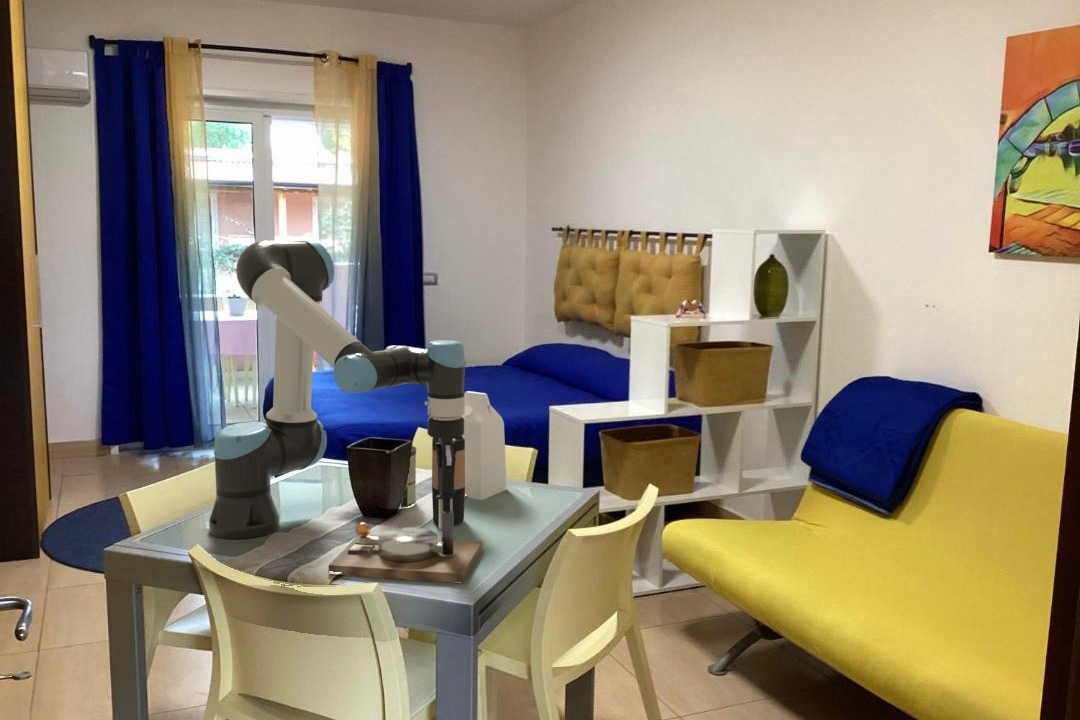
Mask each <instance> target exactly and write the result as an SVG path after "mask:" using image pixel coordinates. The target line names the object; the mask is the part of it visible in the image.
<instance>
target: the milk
mask: <svg viewBox="0 0 1080 720" xmlns="http://www.w3.org/2000/svg"><path fill="white" fill-rule="evenodd" d="M464 395H465V414H464V415H463V416H462V417H463V418H464V434H463V435H462V437H463V439H465V494H466V495H467V496H468V497H467V498H469V497H471V498H470V499H473V498H474V499H475V500H478V499H479V501H482V499H483V500H485V499H488V498H490V497H492V496H495V495H496V494H500V493H502V492H504V491H507V490H508V488H507V485H508V482H507V465H506V443H505V440H506V439H505V422H504V419H503V417H502V416H501V415H500V414H499V412H497V410H496V409H495V408H494V407H493V406H492V405H491V403H490V399H489V397H488V394H487V393H485V392H477V391H470V390H468V391H464Z"/></svg>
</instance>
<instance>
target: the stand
mask: <svg viewBox="0 0 1080 720" xmlns="http://www.w3.org/2000/svg"><path fill="white" fill-rule="evenodd" d="M380 535H381V534H373V533H372V534H371V533H369V535H367V536H375V537H379V536H380ZM359 538H360V536H358V535H357V536H355V538H354V539H353V540H352V541H351V542H350V543H349V544H348V545H347V546H345V548H344V549H343V550H342V551H340V553H339V554H338V555H336V557H335V558H334V559H333V560H332V561H331V562H330V563H329V564H328V566H327V567H328V572H329V571H333V572H342V573H343V574H344V575H348V576H347V577H357V578H358V577H359V578H372V579H373V578H374V579H388V580H389V579H390V580H400V579H404V580H405V579H406V580H405V581H415V580H417V581H418V582H419V580H420V582H430V581H437V582H436V583H445V582H461V583H463V582H464V583H465V581H466V579H467V578H468V576H469V574H470V573H471V571H472V569H473V566H474V565H475V563H476V561H478V558H479V557H480V555H481V553H482V552H483V541H482V540H472V539H471V540H470V539H456V538H455V539H454V553H453V554H451V555H443V554H442V553H436V554H435V555H434V556H432V557H430V558H428V559H424V560H420V561H411V562H400V561H392V560H388V559H385V558H383V557H381V556H380V555H379V545H371V544H362V543H359ZM438 542H442V538H440V537H438ZM467 575H468V576H467ZM465 578H466V579H465ZM404 580H403V581H404ZM464 580H465V581H464ZM438 581H439V582H438ZM464 583H463V584H464Z"/></svg>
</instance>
